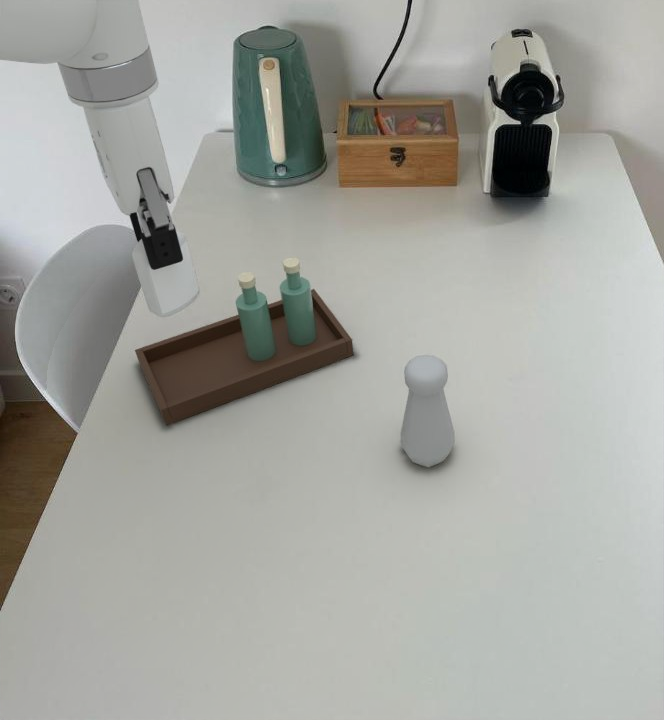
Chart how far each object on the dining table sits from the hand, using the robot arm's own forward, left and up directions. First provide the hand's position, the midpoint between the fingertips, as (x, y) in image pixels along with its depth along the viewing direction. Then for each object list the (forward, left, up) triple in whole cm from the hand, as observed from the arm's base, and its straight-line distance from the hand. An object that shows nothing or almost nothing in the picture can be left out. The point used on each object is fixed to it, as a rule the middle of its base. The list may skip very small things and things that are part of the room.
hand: (160, 250), depth 81 cm
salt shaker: (+19, -20, -21) cm, 35 cm away
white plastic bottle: (0, 0, -7) cm, 7 cm away
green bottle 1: (+9, +4, -21) cm, 23 cm away
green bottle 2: (+14, +4, -21) cm, 25 cm away
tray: (+7, +4, -21) cm, 22 cm away
